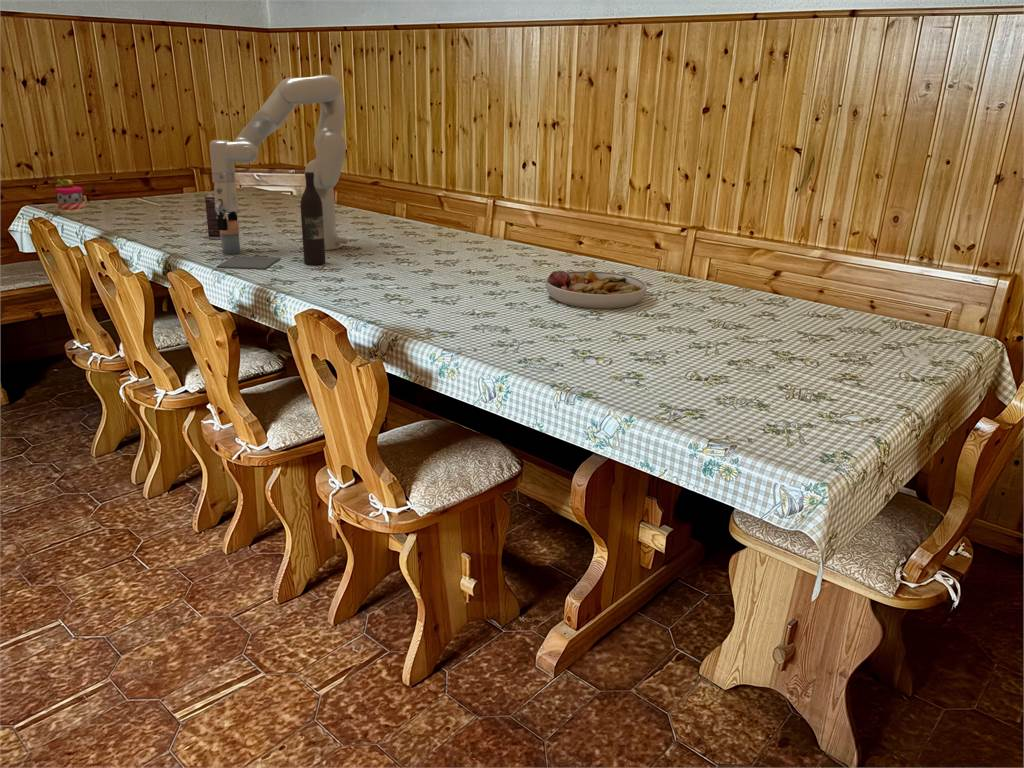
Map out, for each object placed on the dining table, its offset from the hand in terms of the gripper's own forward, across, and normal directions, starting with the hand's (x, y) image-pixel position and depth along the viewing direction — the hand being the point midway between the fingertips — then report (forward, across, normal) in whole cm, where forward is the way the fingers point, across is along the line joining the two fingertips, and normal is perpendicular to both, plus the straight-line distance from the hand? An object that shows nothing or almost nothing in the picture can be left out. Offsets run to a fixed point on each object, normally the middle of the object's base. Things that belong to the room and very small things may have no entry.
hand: (228, 227), depth 276 cm
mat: (+9, -16, -12) cm, 22 cm away
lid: (+2, 0, 0) cm, 2 cm away
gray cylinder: (+9, 0, 0) cm, 9 cm away
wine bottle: (+9, -12, -33) cm, 36 cm away
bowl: (+8, -44, -126) cm, 134 cm away
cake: (+10, +69, +96) cm, 118 cm away
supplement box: (+9, +27, +15) cm, 32 cm away
